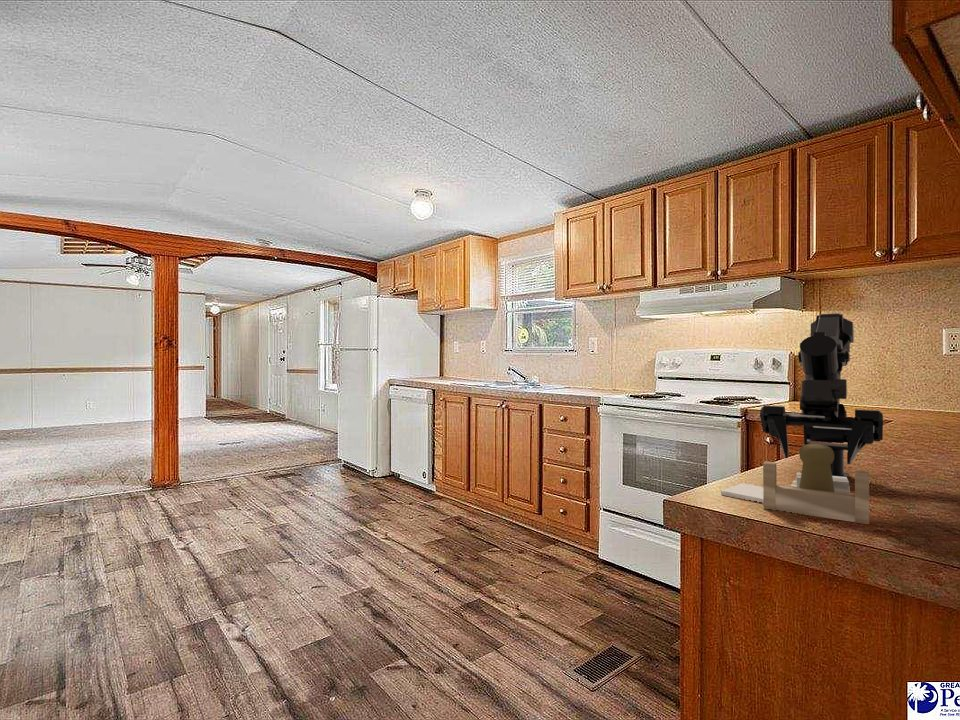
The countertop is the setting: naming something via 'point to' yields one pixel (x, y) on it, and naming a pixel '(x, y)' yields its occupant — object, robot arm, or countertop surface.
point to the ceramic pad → (745, 492)
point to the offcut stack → (839, 483)
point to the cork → (816, 467)
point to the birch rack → (817, 498)
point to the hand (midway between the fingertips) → (816, 459)
